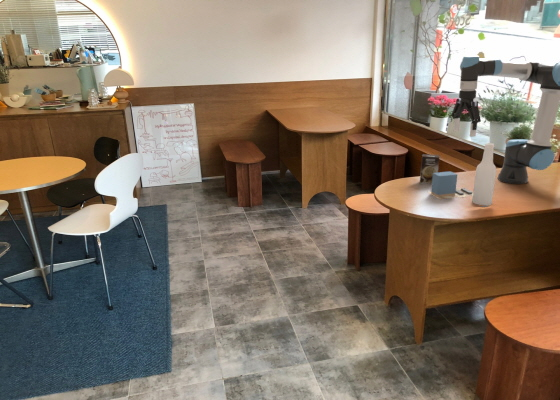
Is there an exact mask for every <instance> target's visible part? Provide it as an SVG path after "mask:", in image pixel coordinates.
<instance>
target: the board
mask: <svg viewBox="0 0 560 400" xmlns="http://www.w3.org/2000/svg"><path fill="white" fill-rule="evenodd" d="M464 188H465V189H467V190H469V189H468V188H466V187H464ZM456 189H457V190H459V191H461V187H460V188H456ZM469 191H471V192H472V194H467V193H465V192H463V191H461V192H463V193H464V195H459V194H457V193H455V195H454V196H444V197H436V196H434V195H433V194H431V190H430V191H427V193H428V194H430V195H431V196H433V197H435V198H437V199H438V200H444V199H446V200H447V199H453V198H454V199H456V198H466V197H473V191H472V190H469Z"/></svg>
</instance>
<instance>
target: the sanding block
mask: <svg viewBox="0 0 560 400" xmlns="http://www.w3.org/2000/svg"><path fill="white" fill-rule="evenodd" d="M457 182H458V174H457V173H456V172H453V171H442V172H441V171H440V172H439V171H438V173H433V178H432V183H431V189H430V191H431V194H430V195H432V194H433V195H434V196H433V195H432V196H433V197H435V196H436V197H435V198H437V197H444V196H454V195H455V192H456V189H457Z"/></svg>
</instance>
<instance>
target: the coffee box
mask: <svg viewBox="0 0 560 400" xmlns="http://www.w3.org/2000/svg"><path fill="white" fill-rule="evenodd" d="M421 156H422V157H421V164H420V165H421V166H420V177H419V184H432V178H433V173H439V165H440V163H439V162H440V155H439V154H430V153H429V154H427V153H425V154H424V153H423V154H422V155H421Z"/></svg>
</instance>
